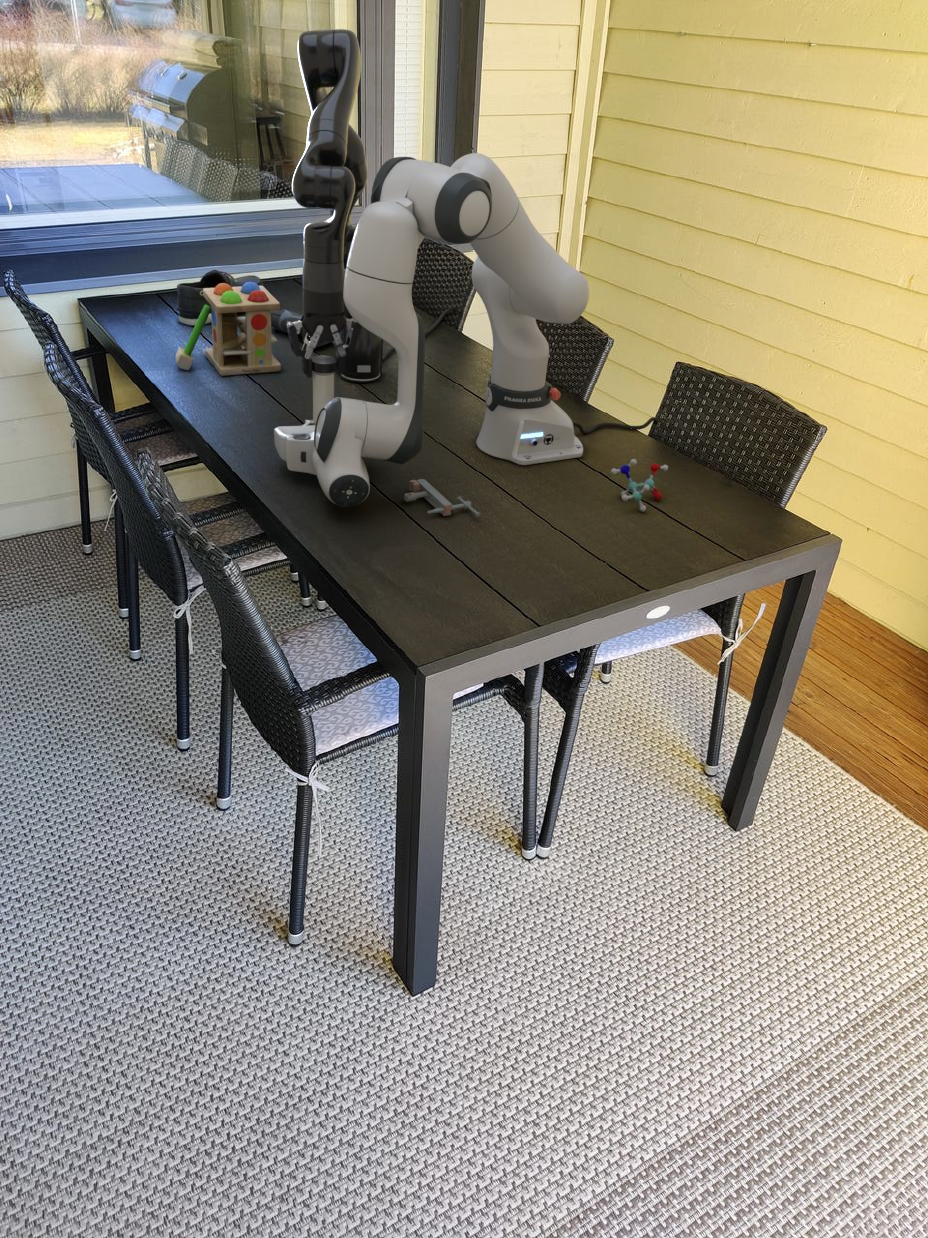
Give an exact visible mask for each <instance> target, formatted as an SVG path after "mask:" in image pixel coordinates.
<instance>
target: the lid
mask: <svg viewBox="0 0 928 1238" xmlns="http://www.w3.org/2000/svg"><path fill="white" fill-rule="evenodd" d="M310 358H311V359H312V372H313V371H314V372H317V373H323V374H327V373H333V372H335V371H336V370H337V360H336V359H335V356H331V355H326V354H325V355H323V354H320V355H319V354H318V355H315V356H311V357H310Z"/></svg>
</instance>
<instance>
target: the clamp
mask: <svg viewBox="0 0 928 1238" xmlns="http://www.w3.org/2000/svg"><path fill="white" fill-rule="evenodd" d="M408 482H409V484H408V491H409V492H406V493H404V494H403V499H404V501H406V502H413V501H416V500H417V499H422V498H423V499H425V500H426V501H427V502H428V503H429V504H430V505H431V506H432V507H433V509H430V510H427V511H426V513H427V514H428V515H429V514H439V513H440V514H441V515H442V517H447V516H452V511H454V510H459V509H463V510H466V509H469V510H470V511H471V512H472V513H473V514H475V517H476V518H480V516H481V512H479V511H477V510H475V509H474V508H473V507H472V502H471V501H470V500H466V501H465V500H464V499H463V497H462V496H457V498H456V500H457V502H460V503H458V504H452V503H451V501H449V500H448V499H447V498H446V497H445V496H444V495H443V494H441V493H440V491H438V490H437V489H436V488H435V487H434V486H433V485H431V484H430V483H429V481H427V480H426V479H425V478H419V479H417V480H416V479H412V480H409V481H408Z"/></svg>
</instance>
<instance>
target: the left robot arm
mask: <svg viewBox="0 0 928 1238" xmlns="http://www.w3.org/2000/svg"><path fill="white" fill-rule="evenodd" d="M297 57H298V63H299V69H300V73H301V77H302V81H303V84H304V85H303V86H304V89H305V93H306V97H307V100H308V104H309V109H310V113H311V115H310V118H309V121H308V124H307V131H306V132H307V134H306V145H305V150H304V152H303V155H302V157H301V159H300V160H299V162H298V164H297V166H296V169H295V170H294V174H293V176H292V181H291V193H292V195H293V198H294V200H295V201H296V203H297V204H298V205H299V206H301V207H302V208H306V209H315V210H329V215H330V217H329V218H328V219H323V220H318V221H313V222H309V223H307V224H306V225H305V226H304V228H303V265H302V314H301V315H302V317H301V319H300V321H296V322H291V321H288V322H287V323H286V327H287V332H288V333H287V332H286V333H287V335H288V340H289V345H290V349H291V352H292V353H294V355H295V356H296V357H297V358H298V357H299V358H300V357H301V369H302V373H303V374H304V375H305V376H306V377H307V378H308V379H313V371H312V359H311V358H312V355H313V352H314V350H315V349H316V348H315V347H316V345H317V342H322V341H332V342H331V343H332V344H333V347H334V349H335V351H336V352H335V353H334V358H335V359H336V360H337V370H336V371H335V375H337V377H338V376H340V377H341V378H342V380H345V381H348V382H352V383H359V384H360V383H361V384H364V383H365V384H366V383H367V384H369V383H373V382H376V381H378V380H380V378H381V375H382V374H383V362H384V361H385V360H387V358H388V356H390V354H392V353H393V352H396V350H395V349H394V347H393V346H392V347H391V348H390V349H388V350H387V351H386V352H385V353H384V340H383V339H382V338H380V337H378V336H377V335H375V334H373V333H372V332H370V331H369V330H367V329H366V328H364V327H363V326H362V325H360V324H359V323H358V322H357V321H356V320H355V319H354V318H353V317H352V316H351V314H350V313H349V311H348V309H347V307H346V305H345V302H344V298H343V289H344V278H345V271H346V267H347V261H348V255H349V251H350V247H351V243H352V240H353V236H354V233H355V230H356V227H357V226H354V224H353V222H352V211H353V209H354V207H355V206H356V203H357V202H358V200H359V199H360V197H361V196H362V193H363V192H364V190H365V188H366V186H367V183H368V180H369V179H368V178H369V171H368V162H367V155H366V149H365V145H364V143H363V141H362V138H361V137H360V135H359V134H358V132H357V131H356V130H355V129H354V128H353V126H352V125H351V124H350V119H351V116H352V112H353V109H354V105H355V100H356V97H357V94H358V93H357V92H358V90H359V89H358V88H359V85H360V80H361V74H362V73H361V71H362V56H361V49H360V43H359V39H358V37H357V35H356V33H355V32H354V31H353V30H351V29H344V28H336V29H334V28H333V29H332V28H331V29H317V30H314V29H313V30H307V31H303V32H302V33H301V34H300V35H299V36H298V41H297ZM326 88H327V89H328V88H331V90H330V91H329V92H328V91H327V89H326ZM453 307H454V306H450V307H448V308H447V309H446V310H445V311H443V312H442V313H441V314H440V316H439V317H438V318H437V320H436V321H435V323H434V324H432V326H430V327H429V328H428V329H427V330H425V331H424V332H425V337H426V336H428V335H429V334H431V333H432V332H433V331H434V330H435V329H436V328H437V327H438V326H439V324H440V323H441V322H442V320H443V318H444V317H445V316H446V315H447V314H449V313H450V312H451V311H453V312H458V309H457V307H456V308H455V309H453ZM301 327H303V328H304V329H305V330H306V332H307V334H306V336H305V339H304V341H303V344H302V347H301V344H300V340H299V335H297V334H299V333H300V328H301ZM340 332H341V338H340V335H339V334H340ZM383 353H384V354H383Z"/></svg>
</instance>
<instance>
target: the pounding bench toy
mask: <svg viewBox="0 0 928 1238" xmlns="http://www.w3.org/2000/svg"><path fill="white" fill-rule="evenodd" d="M203 296H204V297H205V299H206V300H207V301H208V302H209V304H210V305H211V307H210V306H208V305H204V307H203V309H202V311H201V314H200V316H199V318H198V320H197V322H196V324H195V325H194V327H193V329H192V331H191V332H190V333H191V334H190V336H189V338H188V340H187V343H186V344H185V347H184V348H182V347H180V346H179V347H178V349H177V351H176V354H175V357H174V358H175V362H176V365H177V366H178V368H179V369H182V370H185V371H189V370H190V369H191V367H192V365H193V363H194V356H193V351H194V348H195V347H196V345H197V342H198V340H199V337H200V336H201V333H202V332H203V329H204V326H205V325H206V324H205V322H206V320H207V318H209V320H210V321H211V322H210V323H211V336H212V337H211V338H212V339H211V340H212V348H205V349H204V352H205V353H204V355H205V357H206V359H208V361H209V363H210V364H211V365H212V366H213V367H214V369H215V370H216V371H217V372H218V374H219V375H220V376H222V377H223V376H234V375H235V376H236V375H246V374H247V375H250V374H262V373H275V372H281V370H282V364H281V363H280V362H279V360H278V359H277V358H276V357H275V356H274V355H273V348H272V347H273V345H272V344H276V343H278V342H279V341H278V339H277V338H276V337H275V336H274V334H272V327H271V310H280V309H281V304H280V301H278V300H277V299H276V297H274V296H273V295H272V294H271V293H270V292H269V290H268V289H267V288H266V287H265V286H264V287H263V286H258V285H257V284H256V283H254V282H247V283H245V284H244V285H243V286H242V287H231V286H230V285H228V284H226V283H221V284H218V285H217V286H216V287H215V288H204V289H203ZM210 310H211V314H209V312H210ZM238 313H244V314H245V315H244V316H238ZM238 329H239V331H240V333H239V334H238Z"/></svg>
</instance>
